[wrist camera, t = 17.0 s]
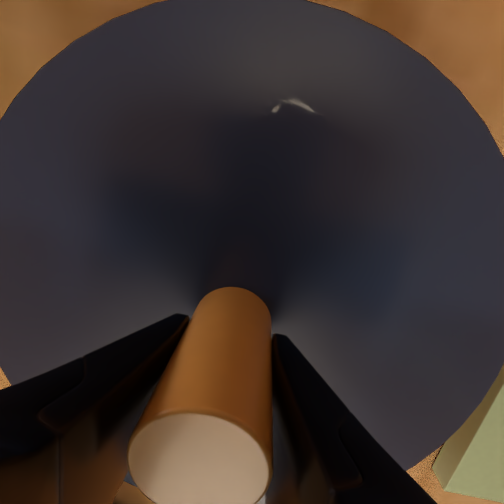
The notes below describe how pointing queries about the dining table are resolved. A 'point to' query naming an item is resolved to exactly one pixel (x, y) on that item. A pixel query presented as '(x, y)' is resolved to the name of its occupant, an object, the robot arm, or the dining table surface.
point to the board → (477, 450)
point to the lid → (254, 230)
